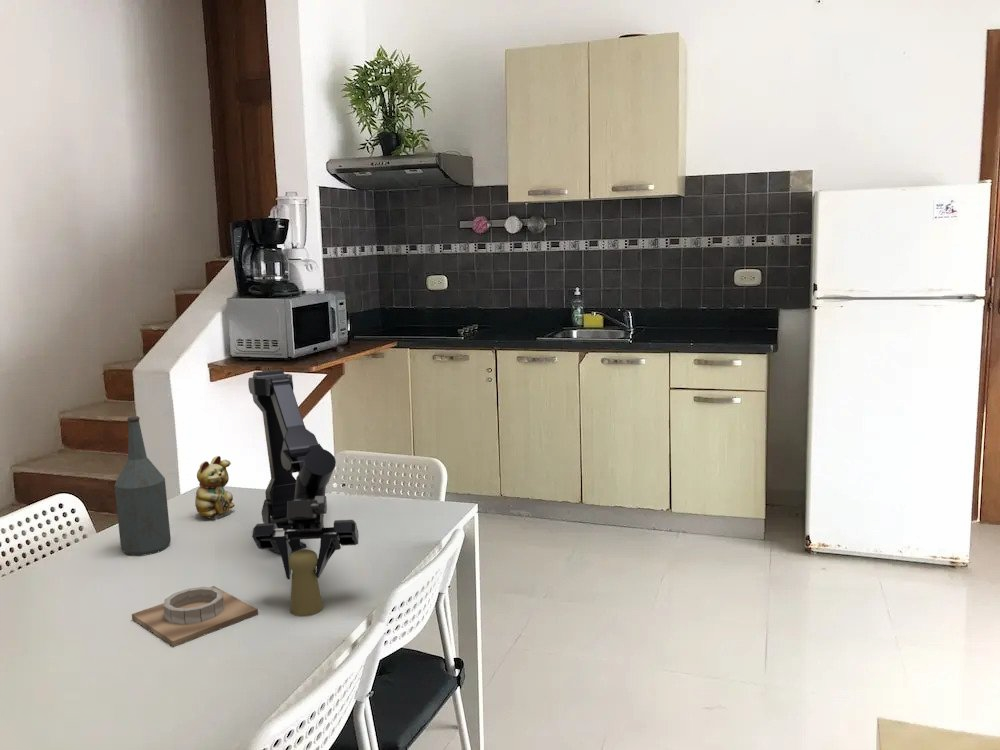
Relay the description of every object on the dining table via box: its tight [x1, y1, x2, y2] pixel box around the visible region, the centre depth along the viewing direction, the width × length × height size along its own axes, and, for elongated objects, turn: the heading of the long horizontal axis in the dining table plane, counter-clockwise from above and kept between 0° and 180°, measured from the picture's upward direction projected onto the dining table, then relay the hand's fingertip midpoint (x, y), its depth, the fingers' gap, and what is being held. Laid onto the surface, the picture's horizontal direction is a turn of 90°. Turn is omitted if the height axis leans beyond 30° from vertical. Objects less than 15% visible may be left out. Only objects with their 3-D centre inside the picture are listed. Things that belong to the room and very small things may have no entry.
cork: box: [289, 548, 324, 617], centre depth 153 cm, size 6×6×11 cm
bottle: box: [114, 415, 172, 556], centre depth 185 cm, size 10×10×30 cm
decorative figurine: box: [194, 455, 235, 520], centre depth 208 cm, size 10×8×15 cm
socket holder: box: [131, 585, 259, 647], centre depth 152 cm, size 16×16×4 cm
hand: (302, 577), depth 151 cm, fingers closed on cork, 5 cm apart
